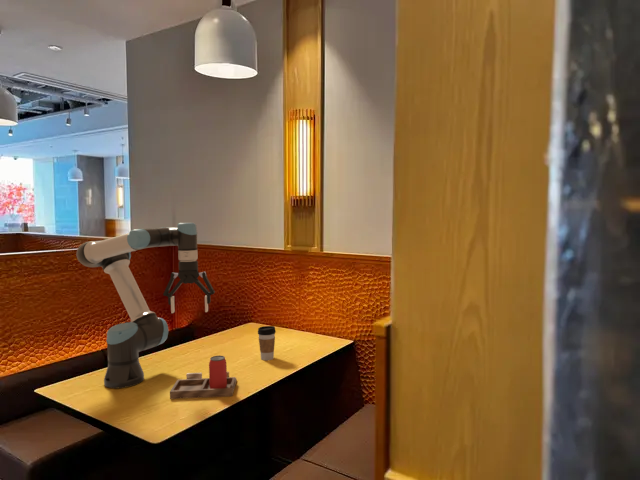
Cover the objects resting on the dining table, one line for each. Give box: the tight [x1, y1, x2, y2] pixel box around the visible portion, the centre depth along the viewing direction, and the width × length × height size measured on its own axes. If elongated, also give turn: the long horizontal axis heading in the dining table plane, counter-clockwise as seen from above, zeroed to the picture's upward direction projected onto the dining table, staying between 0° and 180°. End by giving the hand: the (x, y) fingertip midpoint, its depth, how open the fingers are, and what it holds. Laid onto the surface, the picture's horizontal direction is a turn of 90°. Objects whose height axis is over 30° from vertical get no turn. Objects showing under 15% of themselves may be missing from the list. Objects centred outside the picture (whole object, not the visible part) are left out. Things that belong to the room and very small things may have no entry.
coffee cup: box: [257, 325, 277, 361], centre depth 211 cm, size 8×8×15 cm
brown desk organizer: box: [169, 371, 238, 400], centre depth 175 cm, size 23×16×4 cm
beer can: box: [208, 355, 227, 389], centre depth 174 cm, size 7×7×12 cm
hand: (189, 312), depth 183 cm, fingers open, 13 cm apart
